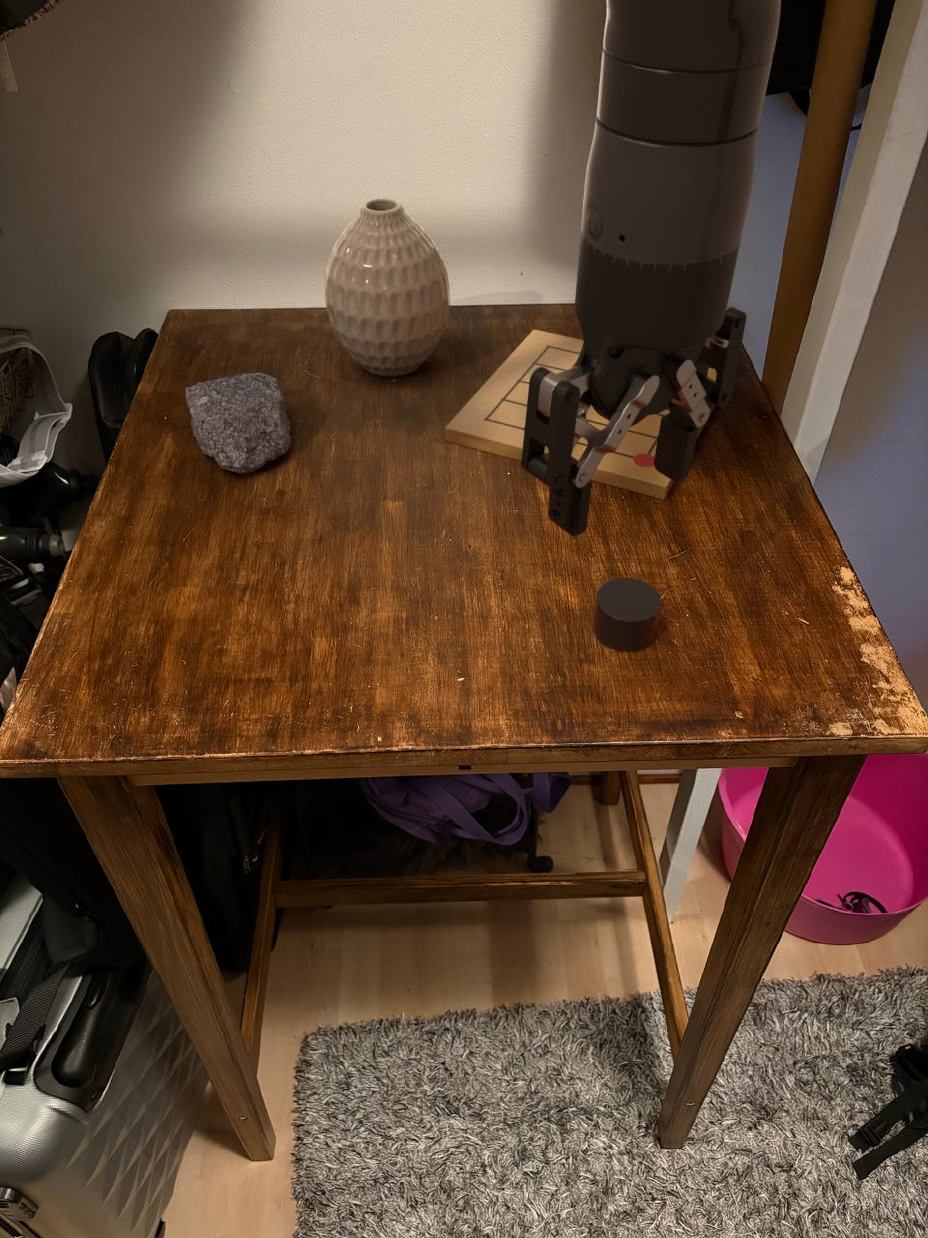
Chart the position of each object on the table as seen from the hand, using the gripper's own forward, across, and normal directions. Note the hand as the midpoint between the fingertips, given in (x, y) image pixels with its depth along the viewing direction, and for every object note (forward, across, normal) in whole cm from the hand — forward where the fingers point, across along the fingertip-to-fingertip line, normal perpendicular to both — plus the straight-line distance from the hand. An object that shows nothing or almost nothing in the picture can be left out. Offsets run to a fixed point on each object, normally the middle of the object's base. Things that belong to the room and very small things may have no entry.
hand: (621, 499), depth 54 cm
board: (+16, +25, +26) cm, 40 cm away
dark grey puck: (+16, +6, +2) cm, 17 cm away
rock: (+17, -4, +43) cm, 47 cm away
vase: (+17, +15, +47) cm, 52 cm away
